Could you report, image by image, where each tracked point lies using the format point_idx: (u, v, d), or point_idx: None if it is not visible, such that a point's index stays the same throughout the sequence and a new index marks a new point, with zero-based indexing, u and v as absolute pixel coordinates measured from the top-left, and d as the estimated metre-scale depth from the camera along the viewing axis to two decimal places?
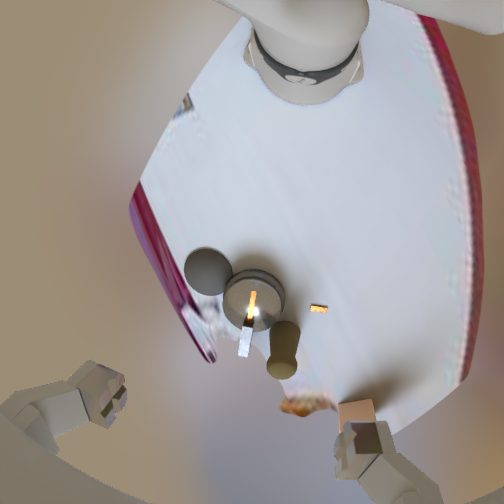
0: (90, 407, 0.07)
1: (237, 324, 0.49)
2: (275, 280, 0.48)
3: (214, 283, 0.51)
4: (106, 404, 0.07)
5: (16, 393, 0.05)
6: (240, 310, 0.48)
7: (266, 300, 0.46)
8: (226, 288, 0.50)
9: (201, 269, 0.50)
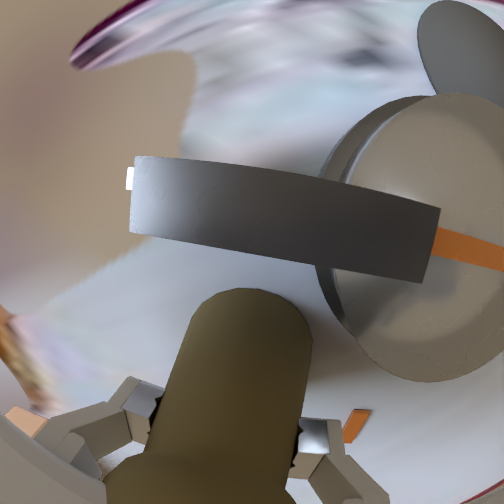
0: (135, 427, 0.07)
1: (390, 155, 0.06)
2: None
3: (470, 81, 0.08)
4: None
5: (53, 419, 0.05)
6: (475, 193, 0.06)
7: (495, 321, 0.07)
8: None
9: (498, 59, 0.07)
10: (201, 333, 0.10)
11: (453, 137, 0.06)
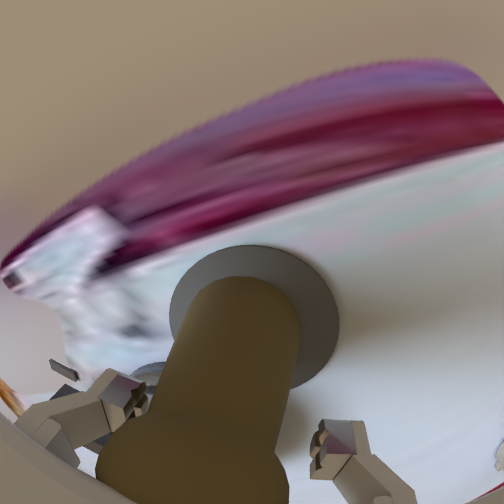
0: (112, 417, 0.07)
1: None
2: None
3: None
4: (129, 414, 0.07)
5: (34, 406, 0.05)
6: None
7: None
8: None
9: None
10: (198, 314, 0.11)
11: None
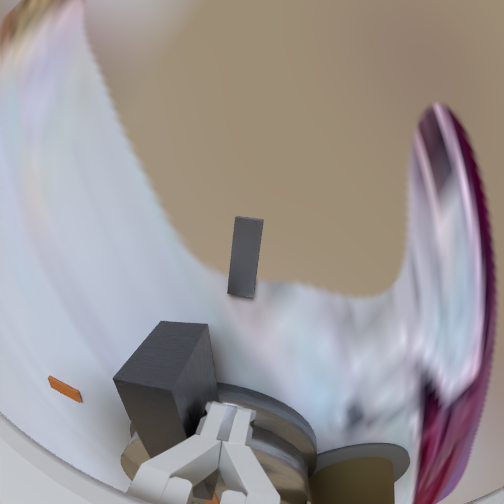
0: None
1: None
2: None
3: None
4: None
5: (145, 465, 0.05)
6: None
7: None
8: None
9: None
10: (393, 496, 0.10)
11: None
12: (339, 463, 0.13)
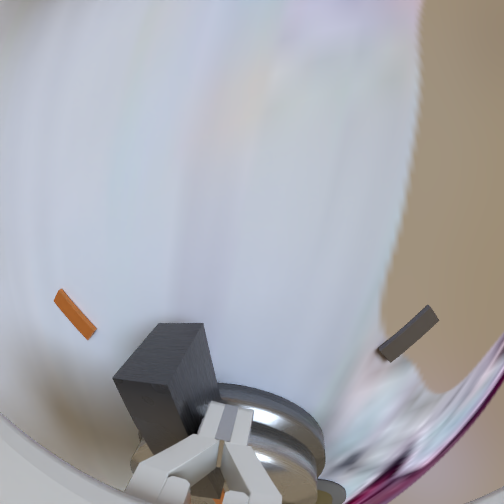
0: None
1: None
2: None
3: None
4: None
5: (143, 465, 0.05)
6: None
7: None
8: None
9: None
10: None
11: (277, 485, 0.09)
12: None
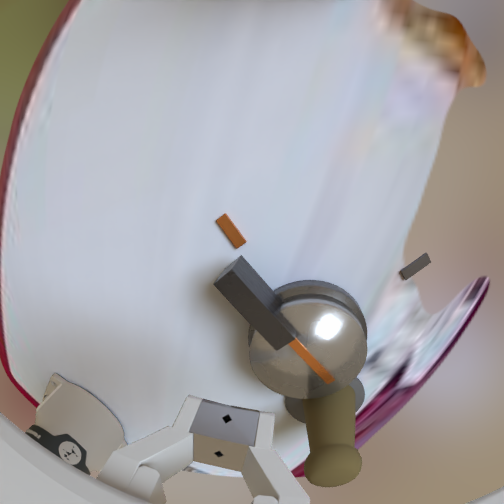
0: (202, 449, 0.07)
1: (298, 313, 0.21)
2: None
3: None
4: None
5: (116, 453, 0.05)
6: (319, 341, 0.21)
7: (301, 384, 0.23)
8: None
9: None
10: None
11: (325, 322, 0.21)
12: None
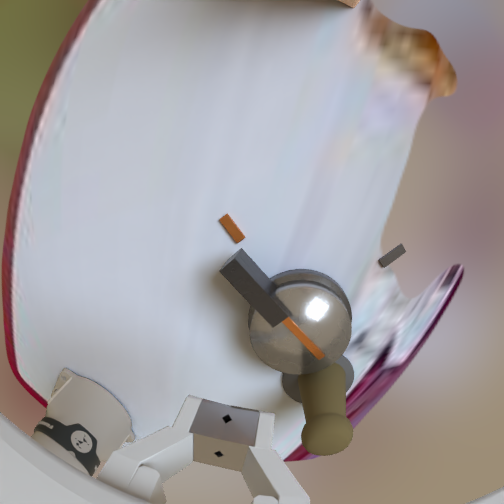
0: (202, 449, 0.07)
1: (291, 295, 0.25)
2: None
3: None
4: None
5: (116, 453, 0.05)
6: (309, 319, 0.26)
7: (295, 360, 0.27)
8: None
9: None
10: None
11: (314, 303, 0.25)
12: None
